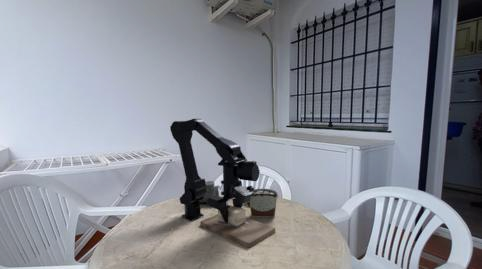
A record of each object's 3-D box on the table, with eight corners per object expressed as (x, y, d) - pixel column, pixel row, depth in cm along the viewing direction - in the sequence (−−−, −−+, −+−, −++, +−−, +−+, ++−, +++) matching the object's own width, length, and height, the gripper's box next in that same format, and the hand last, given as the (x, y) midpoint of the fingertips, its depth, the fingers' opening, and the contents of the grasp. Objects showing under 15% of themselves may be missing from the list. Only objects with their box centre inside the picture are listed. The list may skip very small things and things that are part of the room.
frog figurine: (264, 204, 112) (264, 196, 112) (244, 210, 105) (244, 202, 105) (249, 198, 121) (249, 190, 121) (229, 203, 114) (229, 195, 114)
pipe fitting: (222, 198, 118) (219, 178, 117) (221, 205, 110) (218, 184, 109) (198, 201, 119) (195, 181, 117) (195, 208, 111) (192, 187, 110)
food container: (277, 211, 102) (277, 188, 102) (278, 217, 96) (278, 192, 96) (248, 210, 103) (248, 187, 103) (247, 216, 97) (247, 192, 97)
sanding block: (218, 221, 89) (217, 208, 89) (226, 217, 93) (226, 204, 93) (237, 227, 84) (237, 213, 83) (245, 222, 88) (245, 208, 87)
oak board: (200, 225, 90) (200, 221, 89) (227, 214, 100) (227, 210, 100) (249, 248, 73) (249, 243, 73) (275, 232, 84) (275, 227, 84)
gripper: (228, 187, 75) (229, 236, 76) (264, 176, 89) (264, 217, 90) (205, 181, 82) (206, 226, 83) (241, 172, 96) (242, 210, 97)
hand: (231, 220), depth 88 cm, fingers closed on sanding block, 5 cm apart
